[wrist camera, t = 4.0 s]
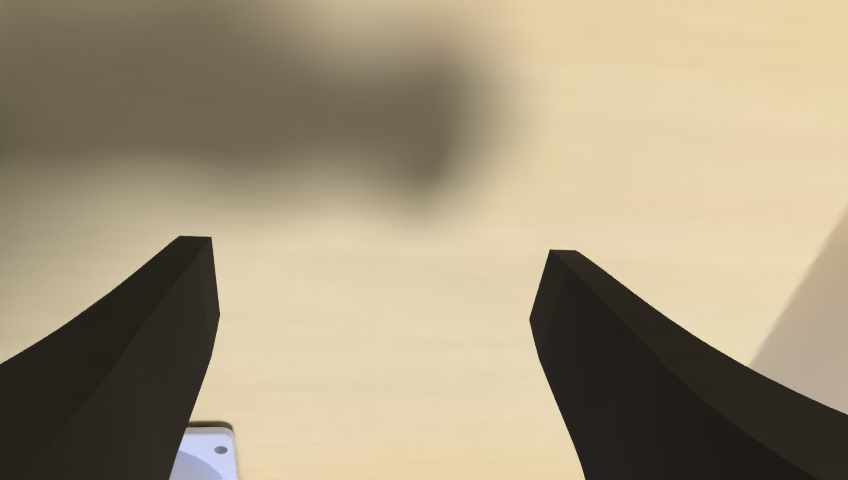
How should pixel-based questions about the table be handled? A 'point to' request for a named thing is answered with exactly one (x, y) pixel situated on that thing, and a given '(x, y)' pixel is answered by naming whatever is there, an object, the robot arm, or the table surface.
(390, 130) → the table surface
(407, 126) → the table surface
